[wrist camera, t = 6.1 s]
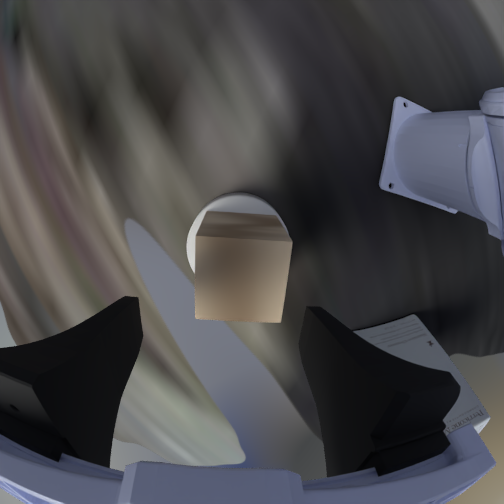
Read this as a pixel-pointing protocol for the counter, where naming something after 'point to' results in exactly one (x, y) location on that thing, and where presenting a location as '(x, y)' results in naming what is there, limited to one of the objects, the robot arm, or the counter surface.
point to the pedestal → (229, 204)
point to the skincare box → (428, 365)
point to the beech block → (241, 267)
